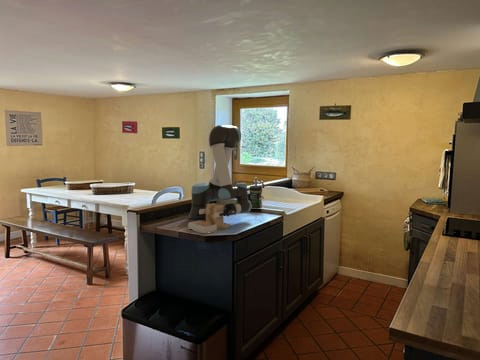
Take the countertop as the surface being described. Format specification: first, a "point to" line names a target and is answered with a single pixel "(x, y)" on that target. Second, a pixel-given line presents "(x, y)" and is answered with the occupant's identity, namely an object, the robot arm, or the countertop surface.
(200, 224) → the tile
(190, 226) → the beige rounded slab
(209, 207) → the block
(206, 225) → the tile
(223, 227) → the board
